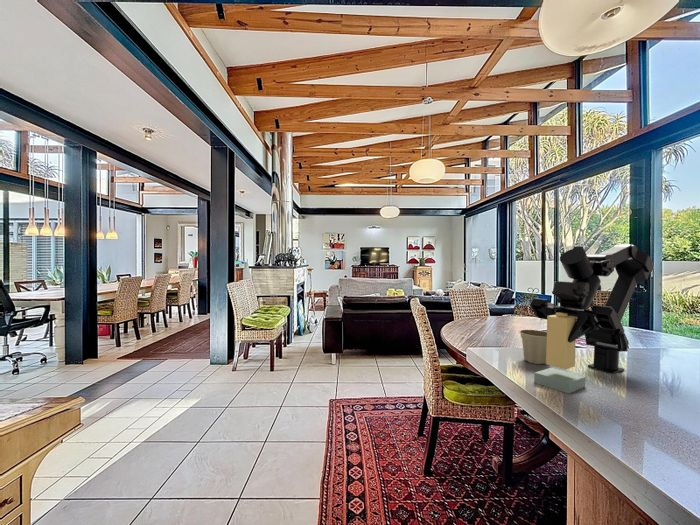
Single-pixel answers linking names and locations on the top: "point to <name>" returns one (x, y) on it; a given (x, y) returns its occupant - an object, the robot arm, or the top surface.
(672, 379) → the top surface
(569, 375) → the plinth brick
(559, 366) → the tower brick
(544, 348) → the flower pot
